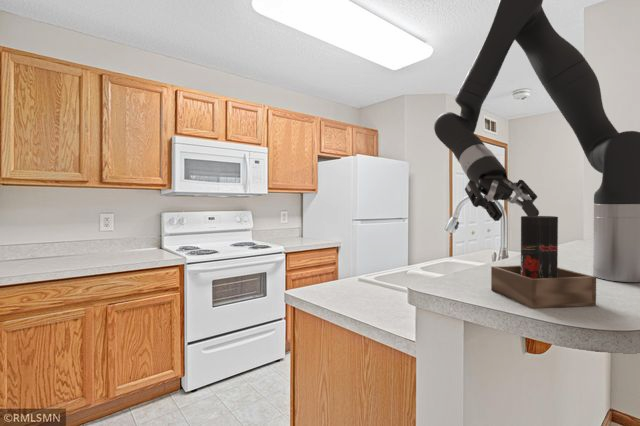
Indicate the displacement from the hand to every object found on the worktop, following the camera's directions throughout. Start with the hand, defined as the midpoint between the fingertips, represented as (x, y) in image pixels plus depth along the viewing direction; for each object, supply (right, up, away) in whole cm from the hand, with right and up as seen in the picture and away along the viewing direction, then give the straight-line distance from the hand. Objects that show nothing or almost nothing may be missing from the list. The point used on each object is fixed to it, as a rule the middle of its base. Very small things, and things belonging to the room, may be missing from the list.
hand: (517, 217), depth 71 cm
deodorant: (+1, -15, -5) cm, 16 cm away
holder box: (+1, -15, -5) cm, 16 cm away
